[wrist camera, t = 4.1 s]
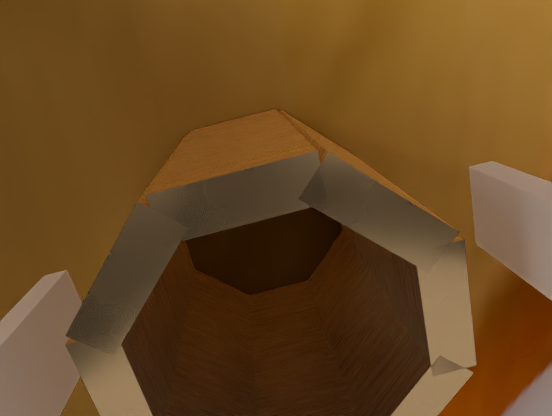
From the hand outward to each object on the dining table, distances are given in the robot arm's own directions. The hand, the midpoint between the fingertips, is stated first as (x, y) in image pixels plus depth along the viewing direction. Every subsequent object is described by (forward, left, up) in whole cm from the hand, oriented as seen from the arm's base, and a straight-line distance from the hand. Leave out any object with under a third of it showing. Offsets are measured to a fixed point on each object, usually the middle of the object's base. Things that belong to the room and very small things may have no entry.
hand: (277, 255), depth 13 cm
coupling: (0, 0, -3) cm, 3 cm away
